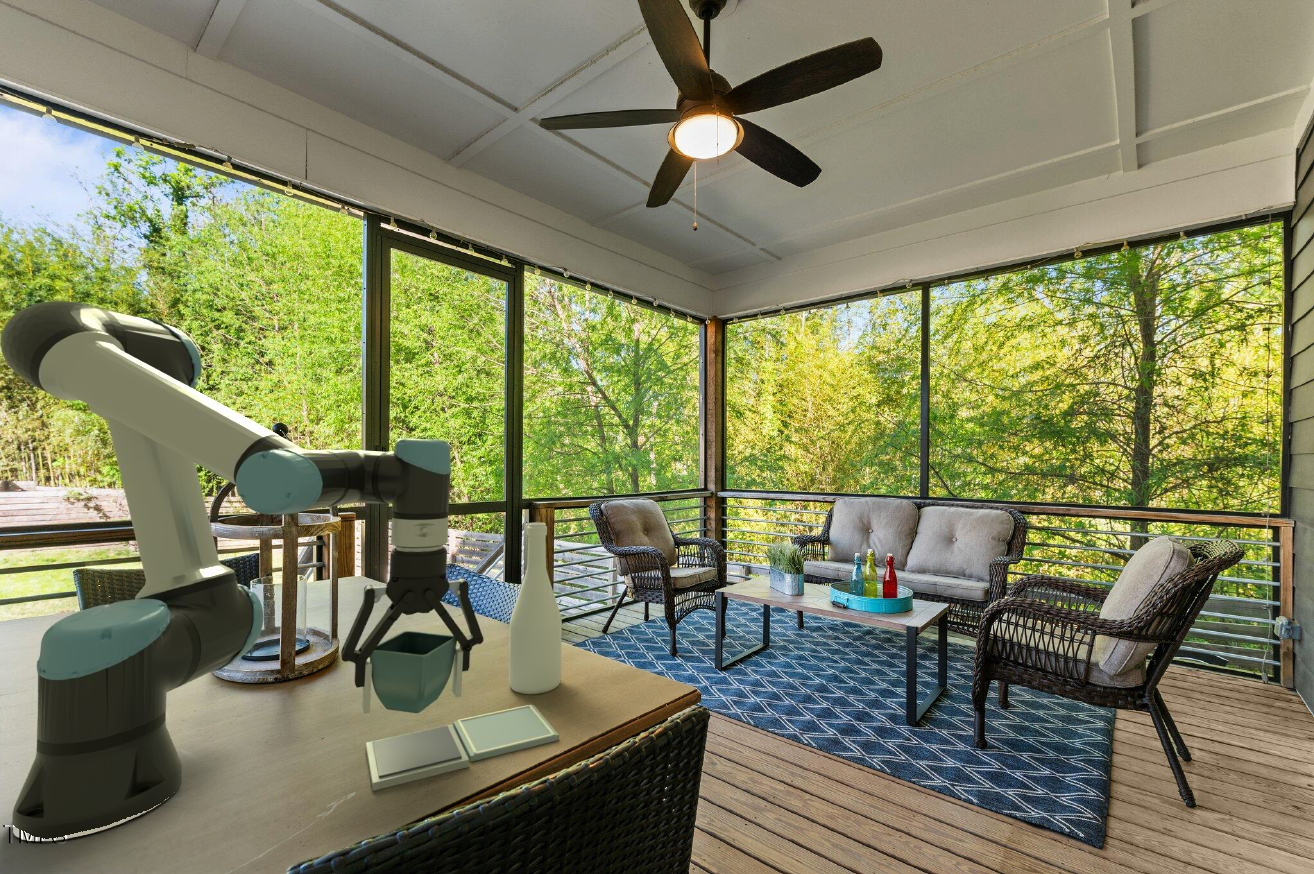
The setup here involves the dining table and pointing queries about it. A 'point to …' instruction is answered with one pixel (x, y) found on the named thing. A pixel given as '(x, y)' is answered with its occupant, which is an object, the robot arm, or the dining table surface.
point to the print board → (503, 732)
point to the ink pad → (414, 756)
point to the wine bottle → (535, 624)
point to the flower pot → (412, 669)
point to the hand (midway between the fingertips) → (412, 701)
